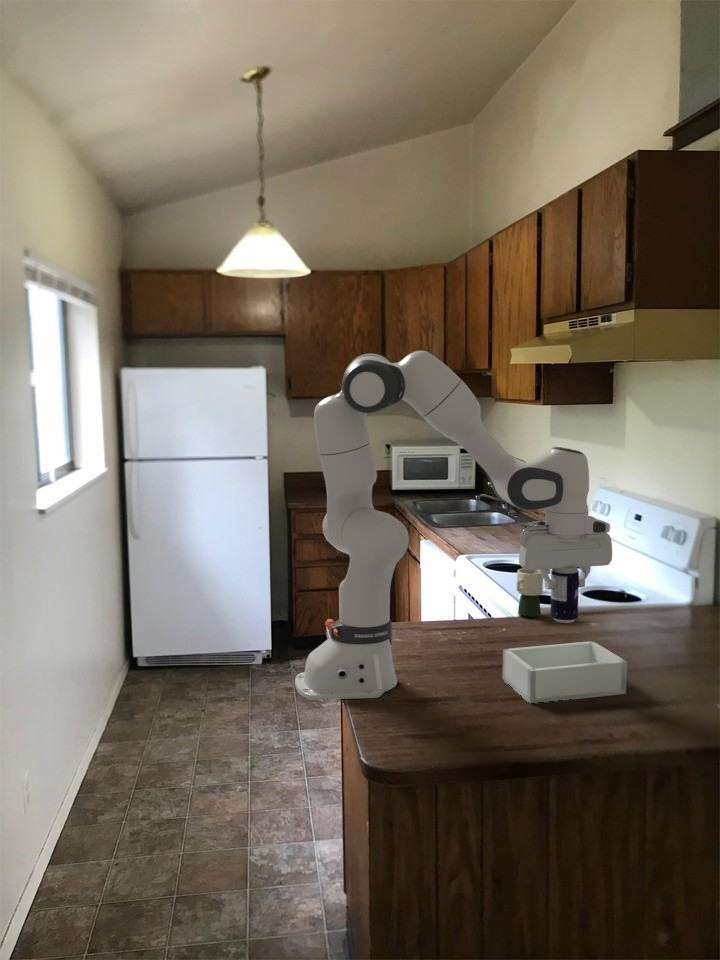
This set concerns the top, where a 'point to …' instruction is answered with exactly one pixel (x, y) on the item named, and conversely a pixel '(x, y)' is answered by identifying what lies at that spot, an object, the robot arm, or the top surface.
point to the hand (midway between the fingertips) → (564, 587)
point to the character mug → (529, 592)
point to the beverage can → (565, 594)
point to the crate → (564, 671)
